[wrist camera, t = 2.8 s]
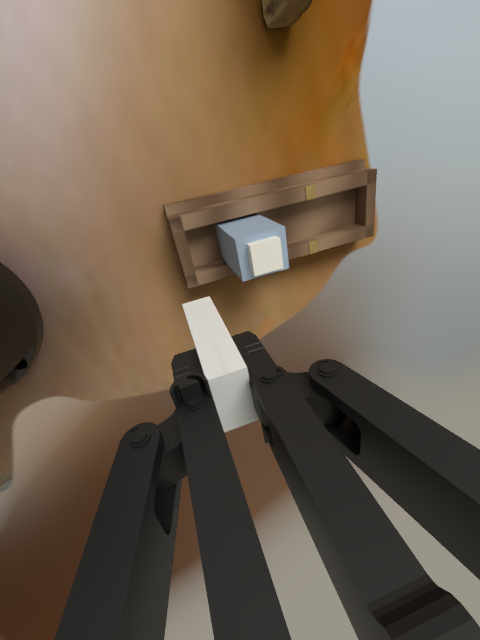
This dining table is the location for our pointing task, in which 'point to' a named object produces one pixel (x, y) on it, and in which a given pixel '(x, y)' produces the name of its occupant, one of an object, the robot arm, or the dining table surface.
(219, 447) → the robot arm
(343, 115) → the dining table surface
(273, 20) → the rock
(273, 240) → the rider
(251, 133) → the dining table surface
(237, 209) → the wooden tray
